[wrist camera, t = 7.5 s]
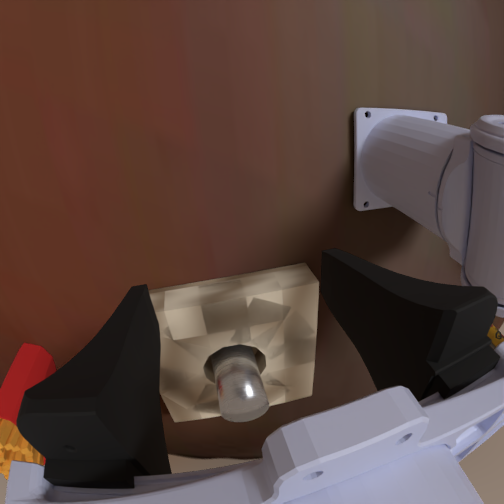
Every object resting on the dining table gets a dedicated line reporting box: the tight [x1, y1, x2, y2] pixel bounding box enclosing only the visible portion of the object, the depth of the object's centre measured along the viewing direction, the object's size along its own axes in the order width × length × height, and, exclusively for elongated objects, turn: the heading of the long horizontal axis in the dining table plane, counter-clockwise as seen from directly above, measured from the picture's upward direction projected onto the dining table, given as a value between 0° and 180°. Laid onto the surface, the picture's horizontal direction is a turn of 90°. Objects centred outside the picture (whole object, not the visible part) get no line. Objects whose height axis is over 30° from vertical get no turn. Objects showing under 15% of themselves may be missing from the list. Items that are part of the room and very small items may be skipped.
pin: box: [211, 344, 269, 422], centre depth 24 cm, size 4×4×7 cm
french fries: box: [0, 343, 57, 479], centre depth 19 cm, size 9×4×13 cm, turn 167°
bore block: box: [148, 263, 319, 422], centre depth 26 cm, size 14×14×3 cm
